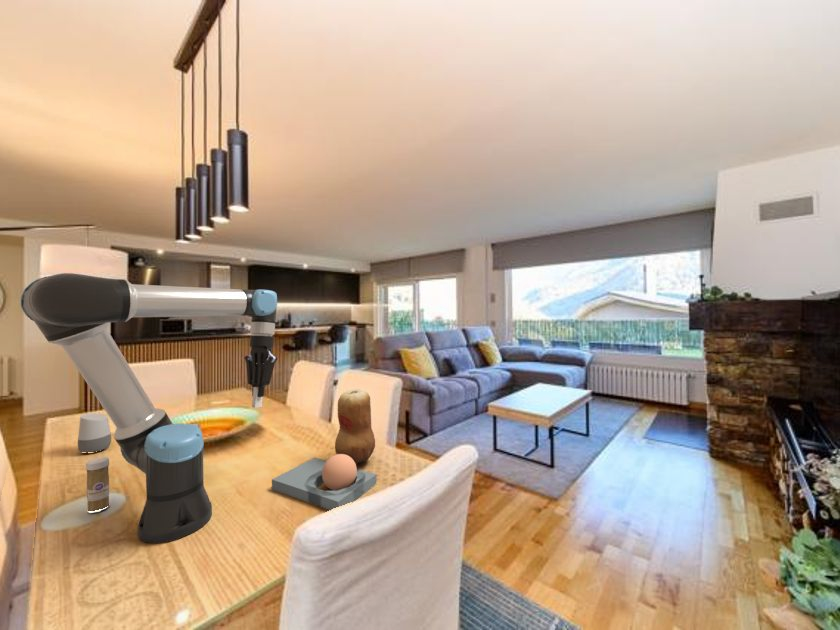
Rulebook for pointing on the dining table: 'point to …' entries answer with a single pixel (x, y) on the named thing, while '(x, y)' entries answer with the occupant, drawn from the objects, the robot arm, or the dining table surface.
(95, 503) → the sprinkles bottle
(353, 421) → the butternut squash
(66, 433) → the dining table surface
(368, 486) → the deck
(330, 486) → the ball
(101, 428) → the smart speaker
